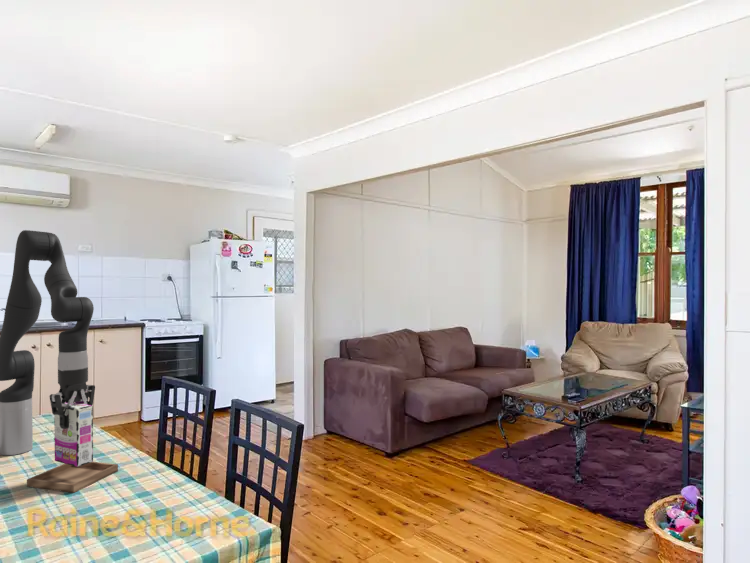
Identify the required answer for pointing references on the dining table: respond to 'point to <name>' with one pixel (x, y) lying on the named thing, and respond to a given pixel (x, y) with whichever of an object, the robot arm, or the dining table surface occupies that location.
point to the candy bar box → (75, 436)
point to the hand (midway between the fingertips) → (73, 425)
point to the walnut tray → (72, 476)
